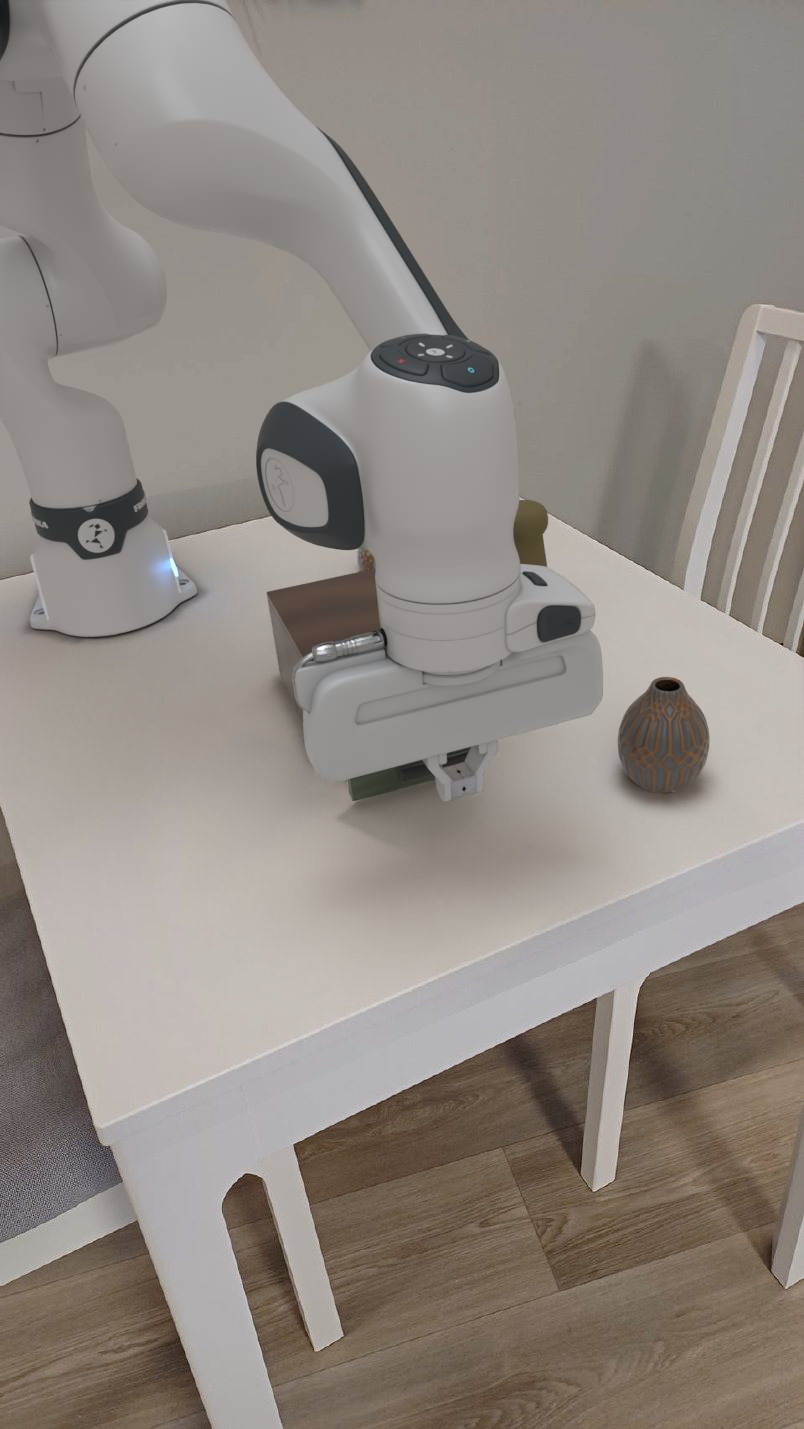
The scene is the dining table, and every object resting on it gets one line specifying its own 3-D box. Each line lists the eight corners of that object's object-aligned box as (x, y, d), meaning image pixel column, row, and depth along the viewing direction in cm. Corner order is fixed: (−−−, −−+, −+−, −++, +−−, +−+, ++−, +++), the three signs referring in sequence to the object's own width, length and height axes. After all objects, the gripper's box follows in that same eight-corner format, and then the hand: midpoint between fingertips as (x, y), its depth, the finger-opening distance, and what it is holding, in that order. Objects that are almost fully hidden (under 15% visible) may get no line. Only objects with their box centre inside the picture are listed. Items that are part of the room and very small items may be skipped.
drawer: (513, 801, 77) (511, 716, 72) (373, 840, 74) (362, 755, 70) (428, 689, 92) (423, 613, 88) (310, 718, 89) (298, 642, 85)
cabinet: (455, 723, 88) (450, 627, 83) (319, 758, 85) (305, 661, 80) (402, 651, 100) (394, 564, 95) (280, 680, 97) (266, 591, 92)
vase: (641, 744, 83) (647, 653, 79) (720, 771, 79) (731, 676, 75) (600, 785, 79) (603, 691, 74) (680, 816, 75) (689, 719, 70)
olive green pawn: (549, 614, 105) (550, 515, 99) (492, 612, 106) (489, 515, 100) (554, 588, 109) (554, 493, 104) (499, 588, 111) (496, 493, 105)
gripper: (300, 676, 57) (328, 860, 64) (619, 601, 61) (611, 780, 69) (276, 629, 62) (304, 805, 69) (572, 563, 67) (569, 734, 74)
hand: (459, 792), depth 69 cm, fingers closed
